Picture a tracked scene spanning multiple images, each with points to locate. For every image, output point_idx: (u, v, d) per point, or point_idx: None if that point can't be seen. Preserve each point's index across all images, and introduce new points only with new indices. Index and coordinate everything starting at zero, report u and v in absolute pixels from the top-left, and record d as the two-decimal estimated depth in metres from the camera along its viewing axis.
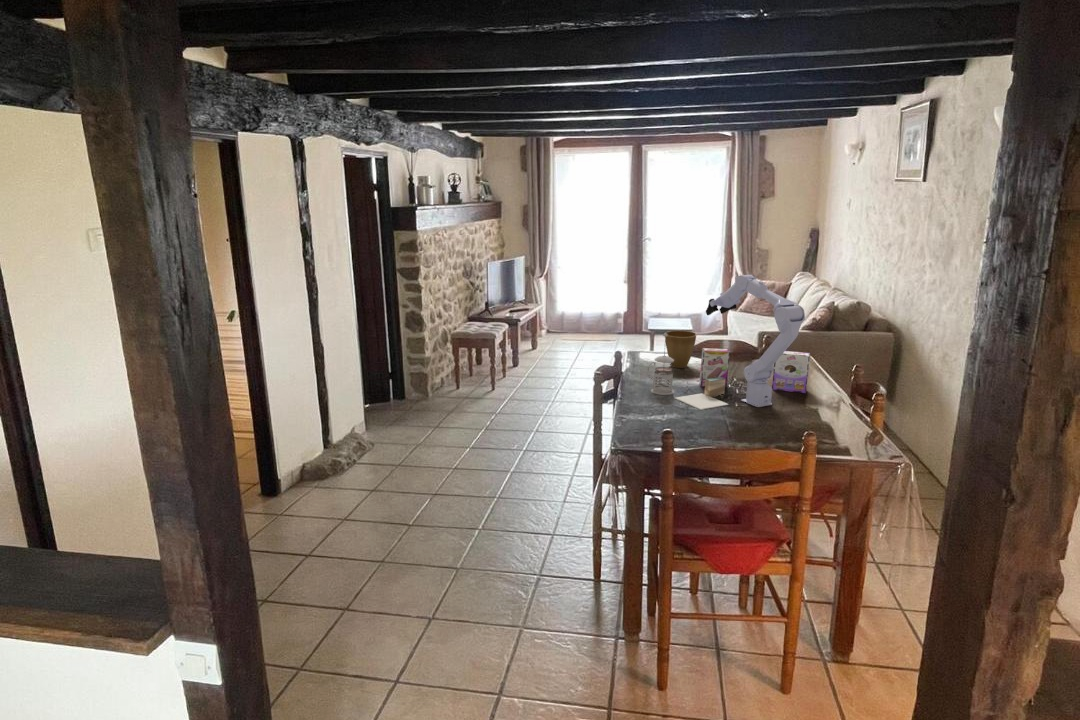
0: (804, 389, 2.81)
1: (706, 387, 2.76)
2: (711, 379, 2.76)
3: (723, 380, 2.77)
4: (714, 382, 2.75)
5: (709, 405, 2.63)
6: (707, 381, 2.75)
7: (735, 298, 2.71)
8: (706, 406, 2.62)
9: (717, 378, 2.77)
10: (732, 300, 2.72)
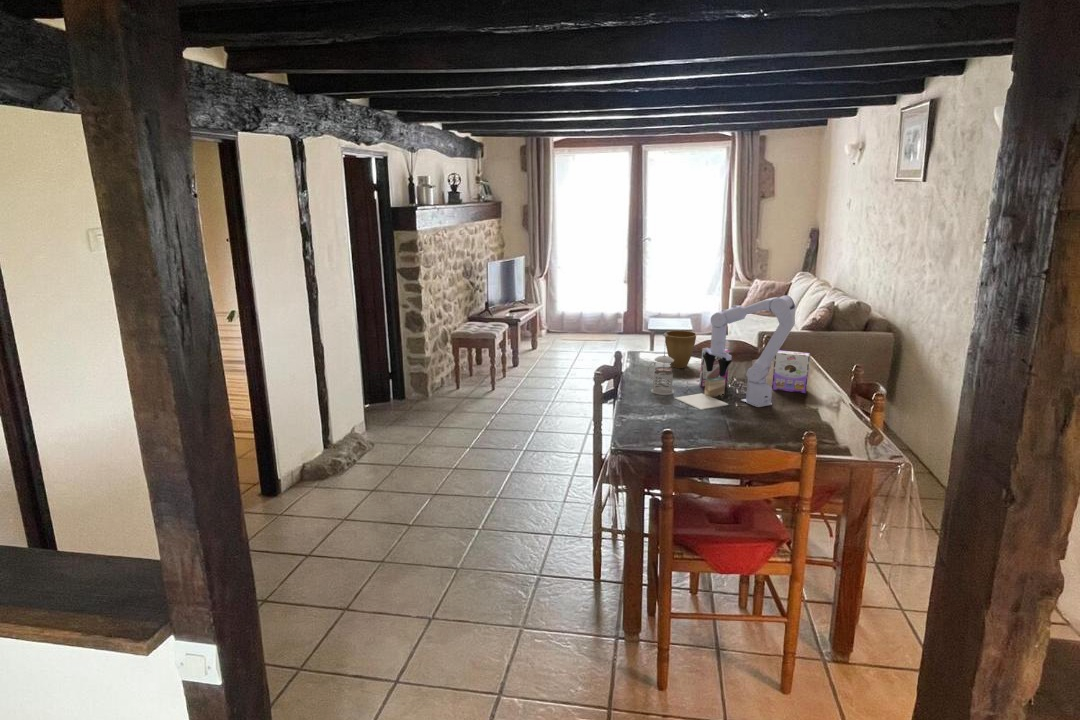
0: (804, 389, 2.81)
1: (706, 387, 2.76)
2: (711, 379, 2.76)
3: (723, 380, 2.77)
4: (714, 382, 2.75)
5: (709, 405, 2.63)
6: (707, 381, 2.75)
7: (724, 338, 2.70)
8: (706, 406, 2.62)
9: (717, 378, 2.77)
10: None
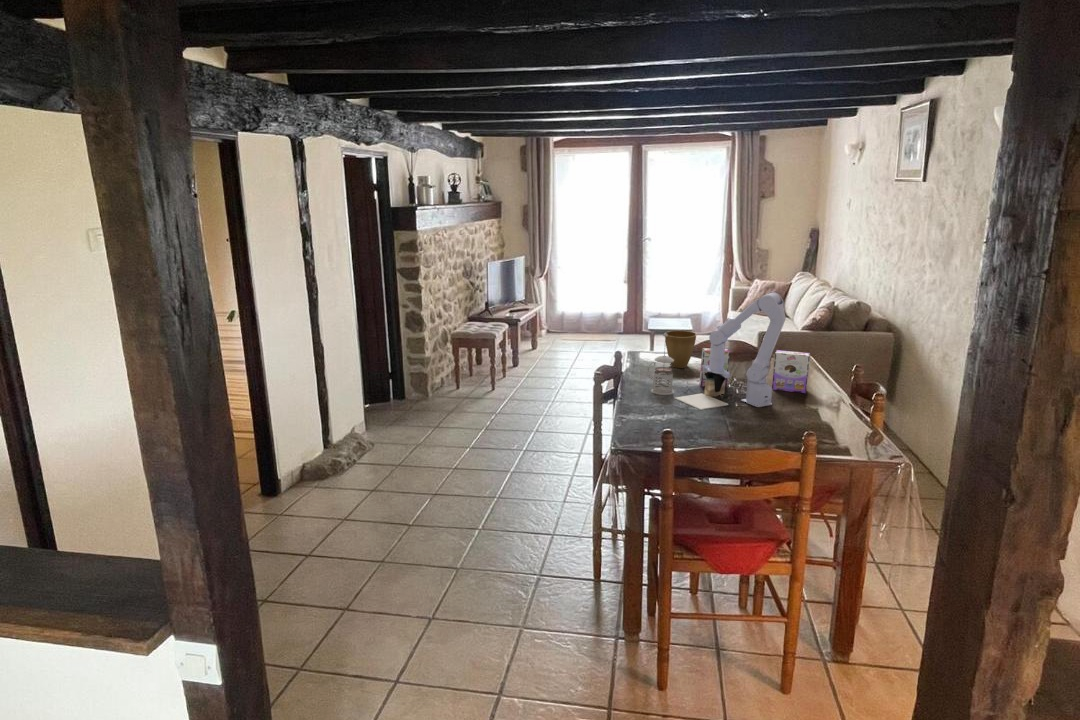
0: (804, 389, 2.81)
1: (706, 387, 2.76)
2: (711, 379, 2.76)
3: None
4: (714, 382, 2.75)
5: (709, 405, 2.63)
6: (707, 381, 2.75)
7: (722, 356, 2.72)
8: (706, 406, 2.62)
9: None
10: None
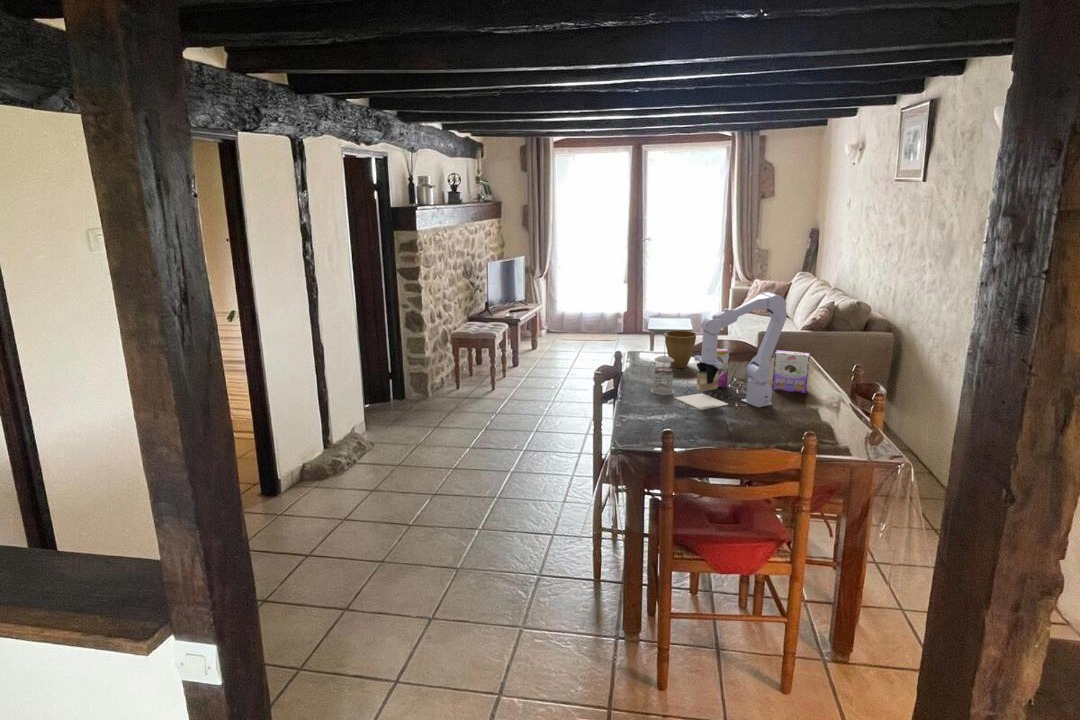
0: (804, 389, 2.81)
1: (699, 381, 2.63)
2: (703, 372, 2.63)
3: (716, 373, 2.64)
4: None
5: (709, 405, 2.63)
6: (699, 374, 2.62)
7: None
8: (706, 406, 2.62)
9: None
10: None
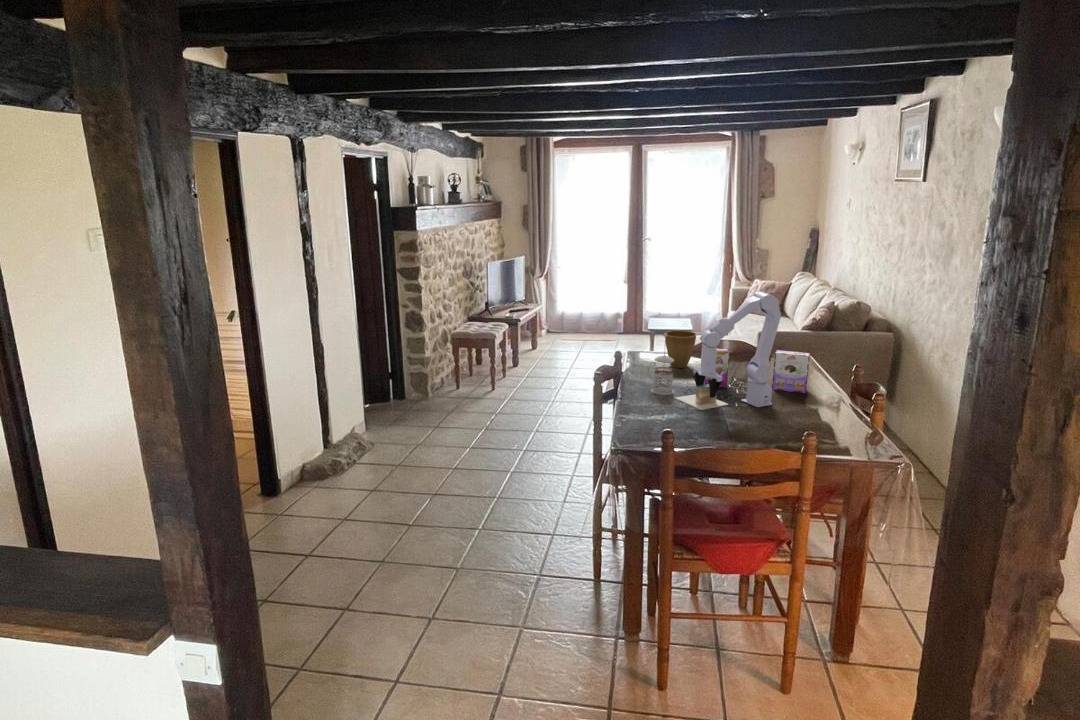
0: (804, 389, 2.81)
1: (698, 394, 2.64)
2: (702, 386, 2.64)
3: None
4: (705, 389, 2.63)
5: (709, 405, 2.63)
6: (698, 388, 2.64)
7: None
8: (706, 406, 2.62)
9: None
10: None
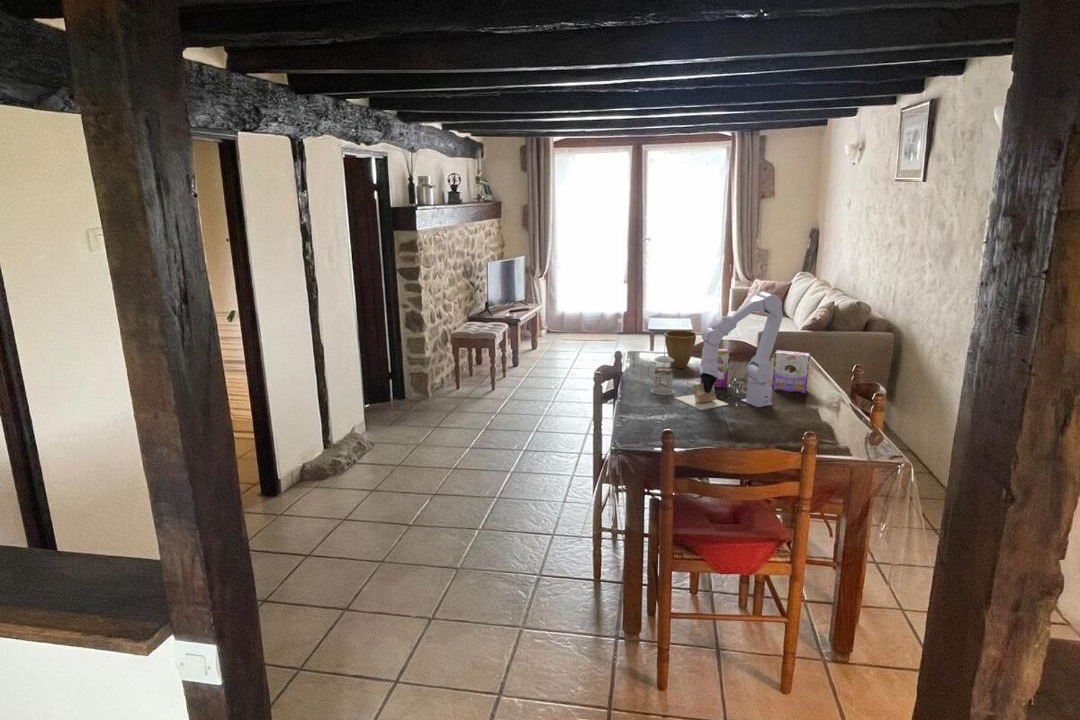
0: (804, 389, 2.81)
1: (696, 393, 2.65)
2: (699, 384, 2.66)
3: None
4: (702, 386, 2.65)
5: (709, 405, 2.63)
6: (695, 386, 2.65)
7: (717, 355, 2.61)
8: (706, 406, 2.62)
9: None
10: None
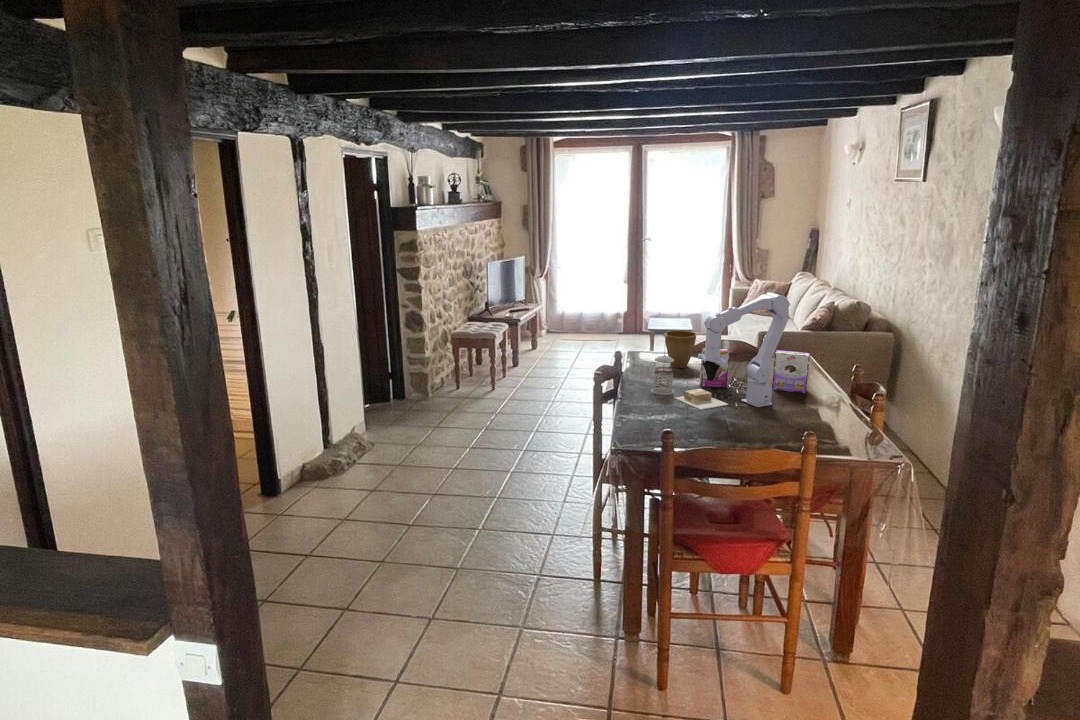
0: (804, 389, 2.81)
1: (689, 397, 2.69)
2: None
3: (699, 389, 2.74)
4: (690, 390, 2.72)
5: (709, 405, 2.63)
6: (685, 395, 2.71)
7: (720, 343, 2.59)
8: (706, 406, 2.62)
9: None
10: None
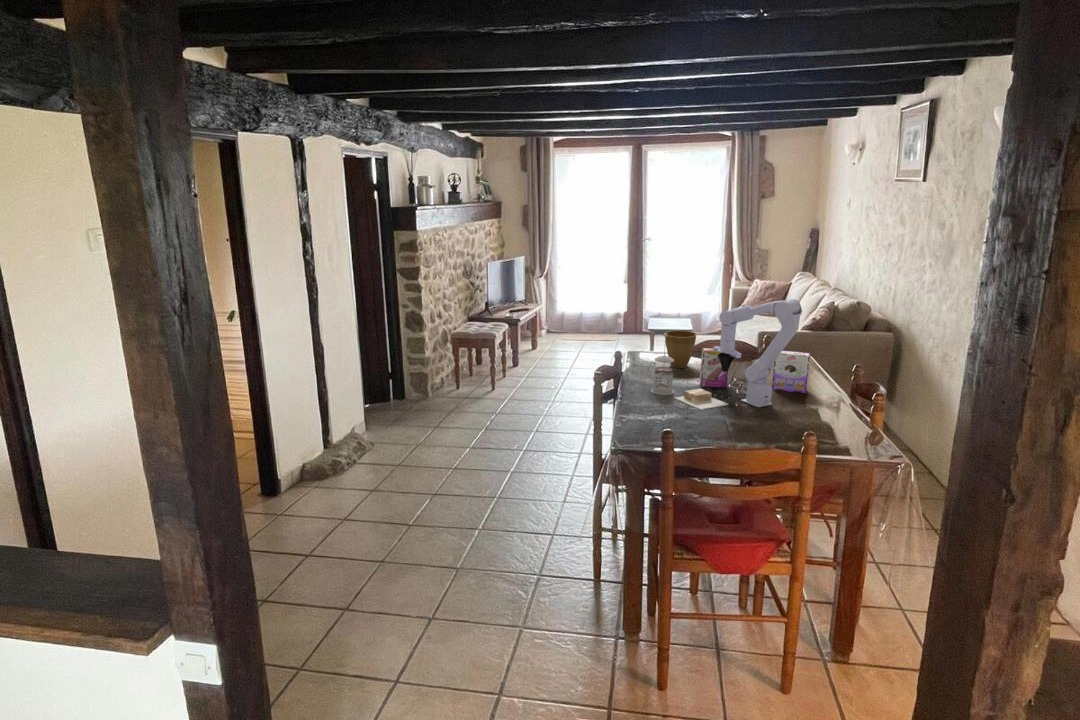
0: (804, 389, 2.81)
1: (689, 397, 2.69)
2: None
3: (699, 389, 2.74)
4: (690, 390, 2.72)
5: (709, 405, 2.63)
6: (685, 395, 2.71)
7: (732, 337, 2.70)
8: (706, 406, 2.62)
9: None
10: None
